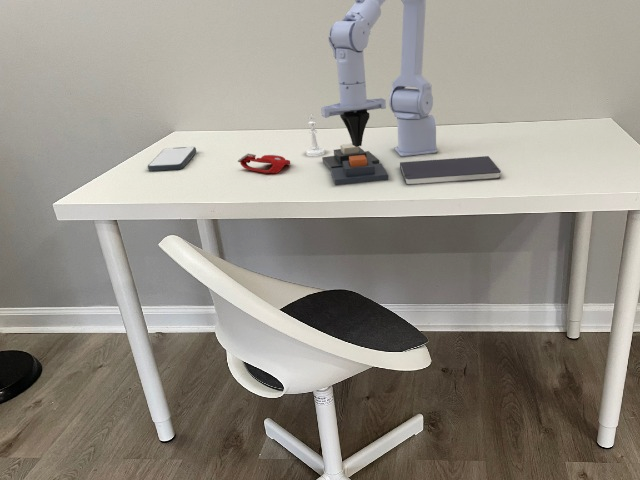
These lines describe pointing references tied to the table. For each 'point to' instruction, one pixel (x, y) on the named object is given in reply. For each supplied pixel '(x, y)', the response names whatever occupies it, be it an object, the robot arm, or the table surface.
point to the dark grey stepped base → (345, 158)
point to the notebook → (449, 170)
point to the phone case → (172, 159)
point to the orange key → (357, 160)
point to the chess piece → (314, 140)
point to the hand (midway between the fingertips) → (357, 145)
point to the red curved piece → (272, 159)
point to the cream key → (349, 149)
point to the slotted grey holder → (358, 173)
